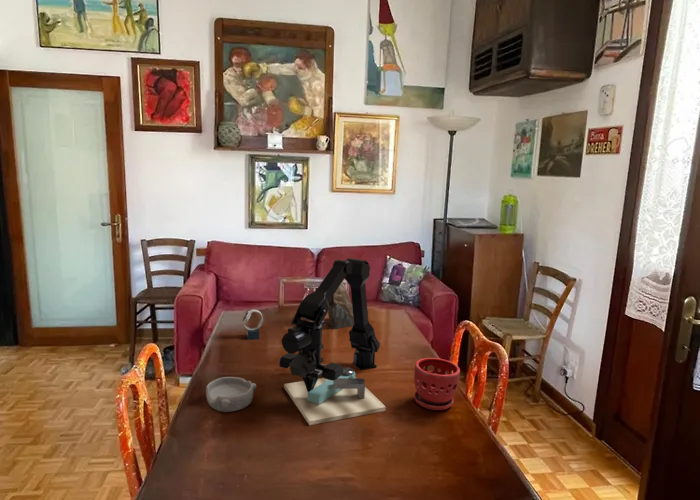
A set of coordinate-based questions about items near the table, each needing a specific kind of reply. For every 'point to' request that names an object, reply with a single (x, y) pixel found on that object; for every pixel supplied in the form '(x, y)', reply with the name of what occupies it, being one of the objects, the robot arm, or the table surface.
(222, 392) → the dish
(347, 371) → the pintle and keeper
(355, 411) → the base board
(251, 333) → the watch
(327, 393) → the link
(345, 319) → the grey tall stone
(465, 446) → the table surface
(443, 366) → the plant pot
